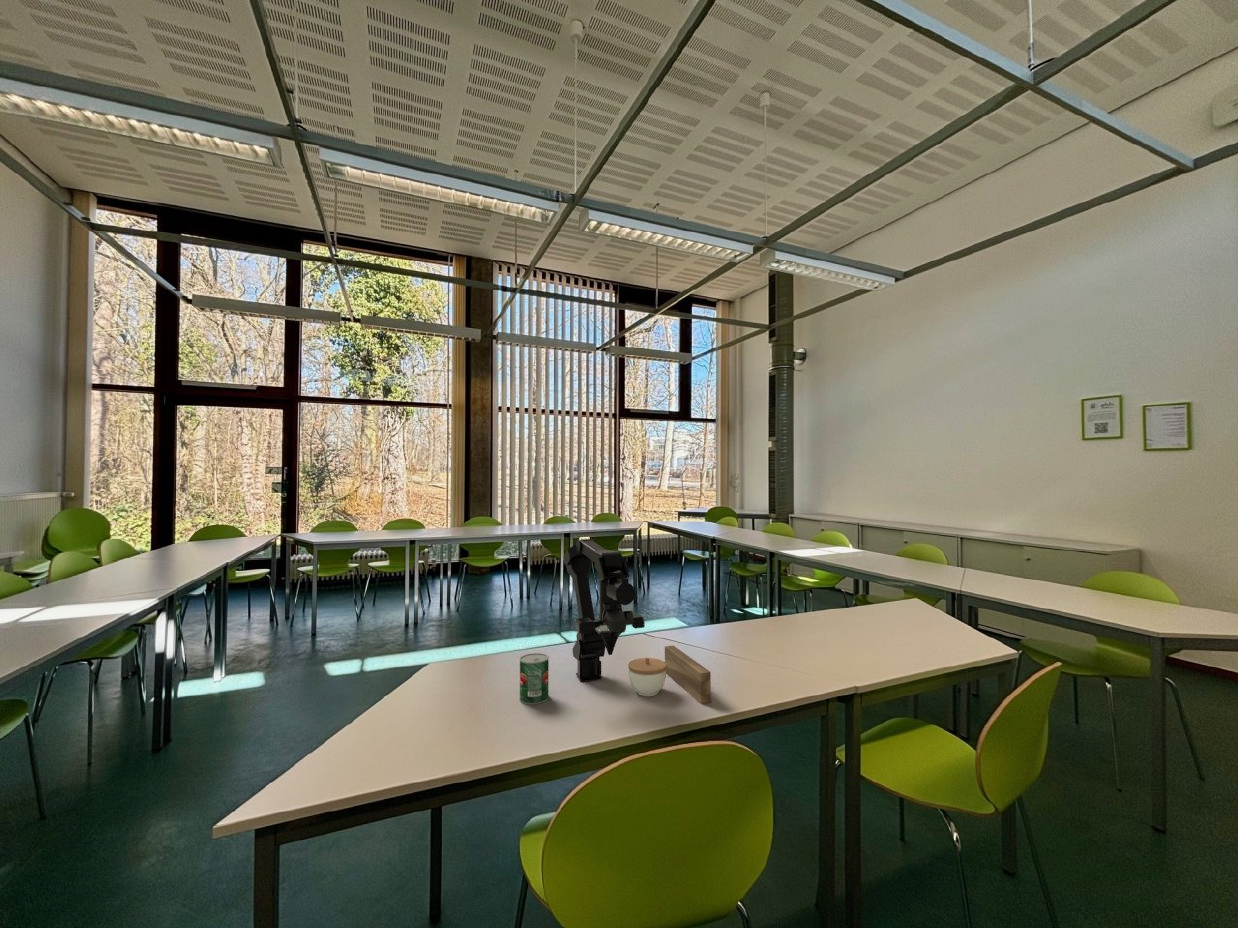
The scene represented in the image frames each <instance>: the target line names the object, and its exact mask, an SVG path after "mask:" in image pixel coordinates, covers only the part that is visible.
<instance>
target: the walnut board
mask: <svg viewBox="0 0 1238 928" xmlns="http://www.w3.org/2000/svg"><path fill="white" fill-rule="evenodd" d="M664 662H665V663H666V676H668V677H670V678H671V679H672V680H673V681H674V682H675V683H676V684H677V685H679V687H681V688H682V689H683V690H684V691H686V693H688V694H689V695H690V696H691V697H692V698H693V699H694V700H696V702H698V703H699V704H701V705H702V704H703V705H704V704H710V703H712V688H711V687H712V686H711V685H712V683H711V682H712V681H711V678H712V677H711V675H712V674H711V671H710V670H708V669H707V668H706V667H705V666H703V665H702V664H700V663H698V662H697V660H694V659H693V658H692V657H690V656H688V655H687V654H686V653H685V652H683V651H682V650H681V649H679V648H678V647H677V646H676V645H666V646H664Z"/></svg>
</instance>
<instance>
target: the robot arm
mask: <svg viewBox="0 0 1238 928" xmlns="http://www.w3.org/2000/svg"><path fill="white" fill-rule="evenodd" d="M592 562H593V563H594V569H595V570H596V571H597V574H598V575H597V580H599V583H598V585H599V599H598V604H599V614H598V620H596V619H595V612H594V605H593V599H592V594H591V593H592V592H591V587H590V586H591V585H590V579H589V574H590V571H591V569H592ZM563 563H564V565H565V568H566V571H567V574H568V575H569V576H570V578H572V580H573V584H574V585H573V586H574V592H575V599H576V606H577V612H578V618H576V619H575V622H574V629H575V630H576V632H577V633H576V640H575V643H574V645H573V647H572V650H571V651H572V656H573V658H574V659H575V660H576V662H577V669H576V670H577V672H575V675H576V677H577V679H578V680H579V681H580V682H590V681H599V680H602V661H601V659H600V658H603V657H604V656H605V653H606V652H607V654H608V656H612V655H613V653H614V649H615V647H616V643H617V641H618V639H619V637H620V635H621V634H624V633H625V632H626V630H627V626H631V627H633V628H634V629H642V628H643V629H644V628H645V627H646V626H645V619H644V617H643V616H642V615H640V614H638V613H637V612H636V613H634V612H633V611H632V610H625V611H624V610H623V607H622V606H627V605H630V604H631V603H632V602H633V601H634V599H635V597H636V590H635V587H634V586H633V584H631V583H630V582H629V578H630V574H629V572H630V570H629V568H628V566H627V563H626V561H625V558H624V556H623V555H622V553H621V551H617V550H611V549H605V548H604V547H602V546H601V545H599V543H596V542H595V540H594V539H591V538H586V539H583V538H582V539H578V540H577V541H576V542H575V544H573V545H572V546H571V547H569V548H568V549H566V553H565V554H564V557H563Z"/></svg>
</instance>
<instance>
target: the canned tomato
mask: <svg viewBox="0 0 1238 928" xmlns="http://www.w3.org/2000/svg"><path fill="white" fill-rule="evenodd" d="M549 658H550V657H549V655H547V654H545V653H542V652H541V653H539V652H538V653H537V652H535V653H533V652H532V653H528V654H525V655H522V656H521V657H520V658H519V701H520V702H521V703H522V704H525V705H539V704H543V703H545V702H546V701H548V699H549V697H550V696H549V691H550V690H549V689H550V688H549V676H550V675H549V660H550V659H549Z"/></svg>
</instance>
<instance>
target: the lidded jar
mask: <svg viewBox="0 0 1238 928" xmlns="http://www.w3.org/2000/svg"><path fill="white" fill-rule="evenodd" d="M627 667H628V677H629V681H630V685H631V686H632V688H633V690H634V691H635V692H636V693H637V695H639V696H642V697H654V696H656V695H658V694H659V692H660V691H661V690H662V689H663V688H664V685H665V683H666V677H667V674H666V663H665V660H661V659H658V658H654V657H640V658H636V659H632V660H631V661H629V662H628V666H627Z"/></svg>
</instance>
